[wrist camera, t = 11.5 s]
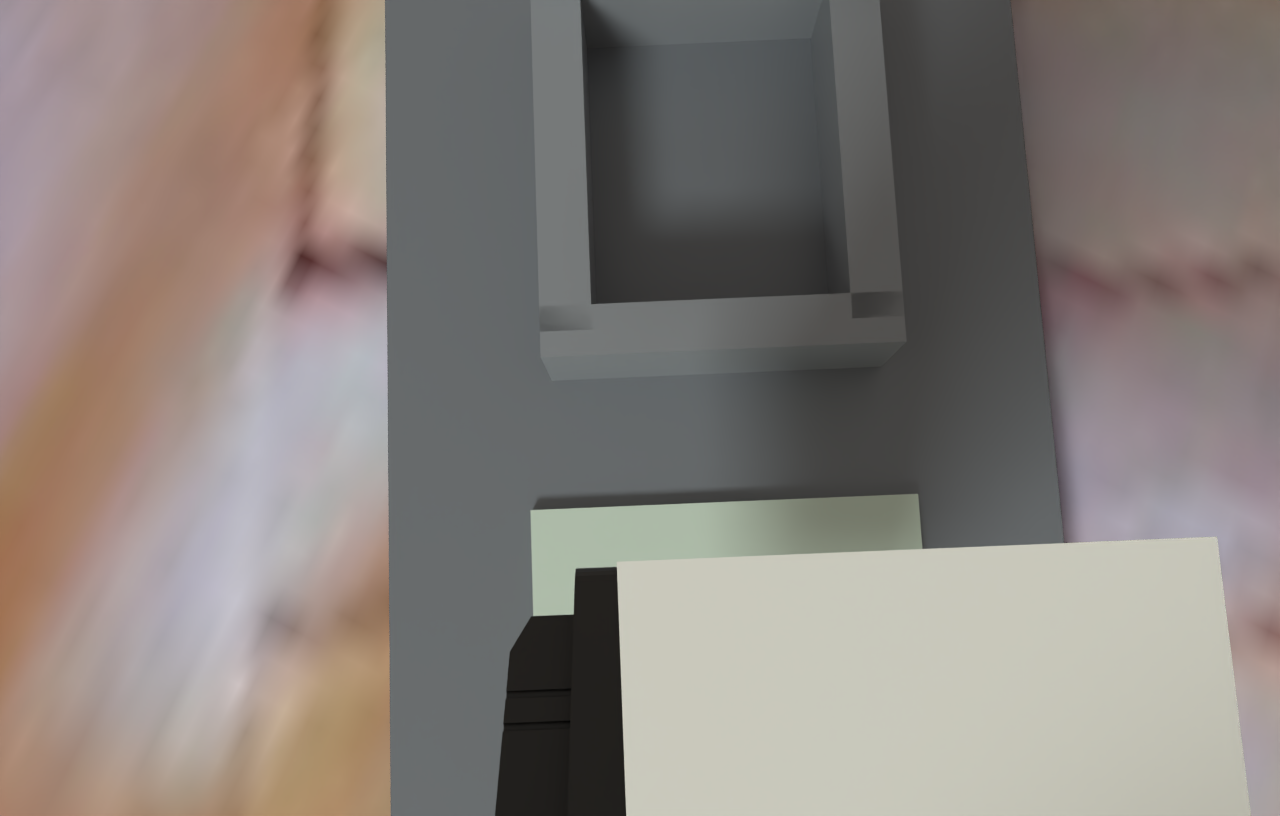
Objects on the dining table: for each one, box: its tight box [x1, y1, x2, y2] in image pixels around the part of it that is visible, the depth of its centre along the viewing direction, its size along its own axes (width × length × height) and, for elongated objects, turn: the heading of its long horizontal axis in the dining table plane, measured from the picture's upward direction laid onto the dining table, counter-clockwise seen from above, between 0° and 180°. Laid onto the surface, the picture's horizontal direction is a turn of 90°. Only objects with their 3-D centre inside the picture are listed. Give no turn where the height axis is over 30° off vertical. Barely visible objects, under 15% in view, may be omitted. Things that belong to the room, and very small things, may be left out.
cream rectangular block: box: [617, 537, 1251, 816], centre depth 12 cm, size 4×5×12 cm
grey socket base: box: [385, 0, 1064, 816], centre depth 23 cm, size 14×24×5 cm, turn 2°
